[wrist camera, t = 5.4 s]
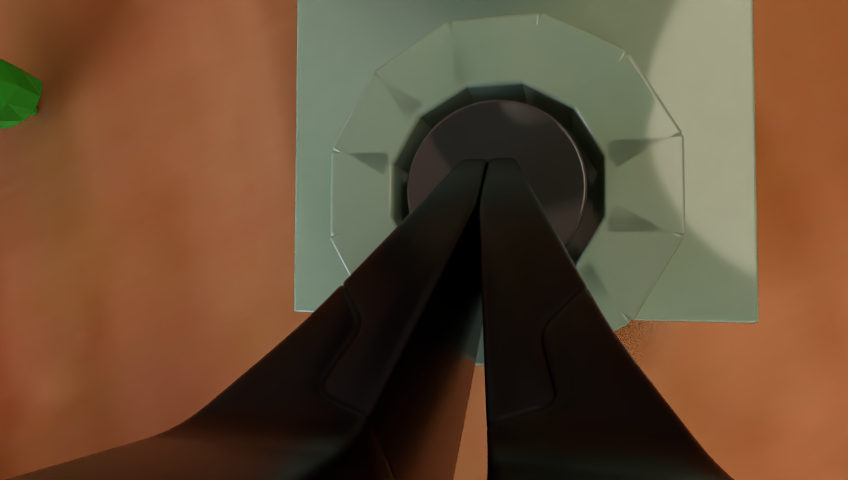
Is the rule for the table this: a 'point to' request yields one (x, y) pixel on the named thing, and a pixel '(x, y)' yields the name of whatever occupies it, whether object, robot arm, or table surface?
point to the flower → (17, 95)
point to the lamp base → (569, 104)
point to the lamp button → (508, 156)
